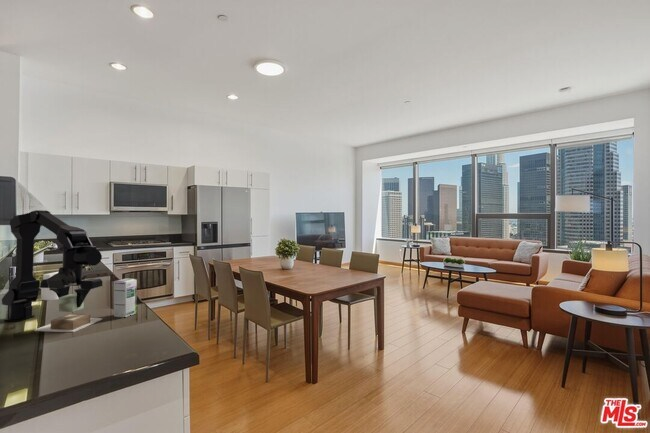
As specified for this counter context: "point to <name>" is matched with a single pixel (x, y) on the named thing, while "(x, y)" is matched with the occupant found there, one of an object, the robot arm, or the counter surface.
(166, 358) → the counter surface
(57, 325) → the board
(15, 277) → the robot arm
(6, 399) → the counter surface
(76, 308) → the sage block
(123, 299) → the syrup box
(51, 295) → the cylinder with rectangular tab
